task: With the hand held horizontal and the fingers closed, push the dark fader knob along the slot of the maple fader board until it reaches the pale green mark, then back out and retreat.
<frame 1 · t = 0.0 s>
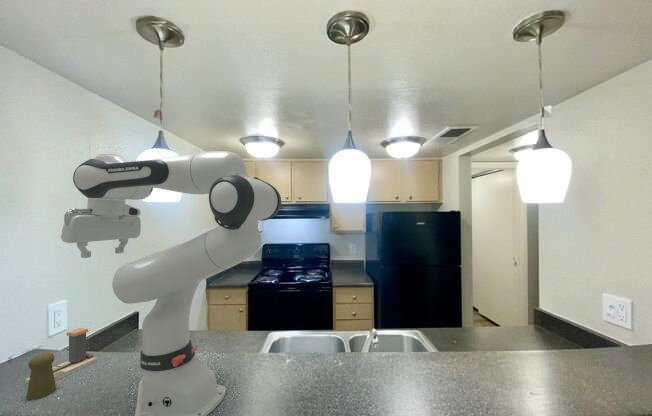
hand: (103, 255, 82), 39 cm above the countertop, tool pointing down, fingers open, 8 cm apart
cork: (41, 394, 79), on the countertop
fader knob: (77, 345, 95), point 7 cm above the countertop, slide at -4.0 cm
fader board: (63, 371, 90), on the countertop
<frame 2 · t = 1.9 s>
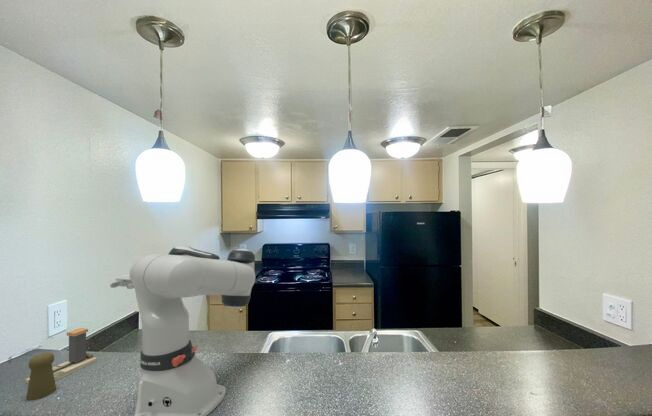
hand: (119, 286, 108), 24 cm above the countertop, tool horizontal, fingers open, 8 cm apart
nothing on the countertop moved.
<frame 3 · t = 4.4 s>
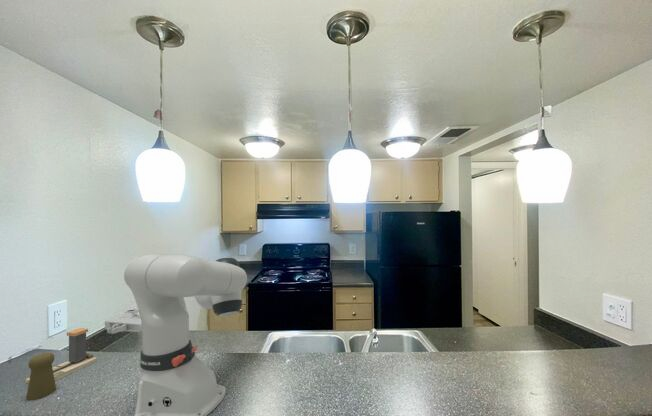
hand: (110, 331, 105), 7 cm above the countertop, tool horizontal, fingers closed
nothing on the countertop moved.
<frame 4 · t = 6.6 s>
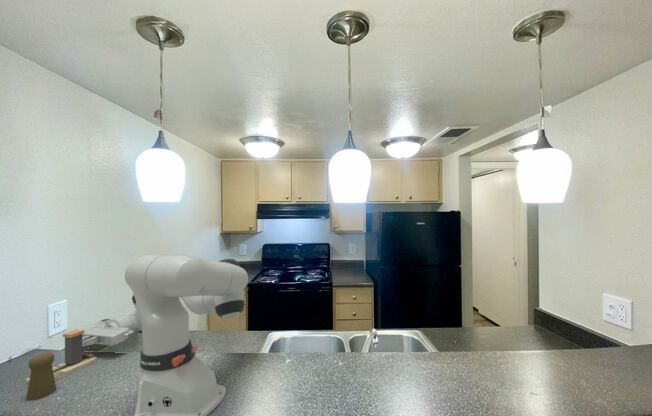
hand: (77, 345, 95), 7 cm above the countertop, tool horizontal, fingers closed, pressing on fader knob
fader knob: (73, 346, 93), point 7 cm above the countertop, slide at -2.8 cm, touching gripper
everything else where it was.
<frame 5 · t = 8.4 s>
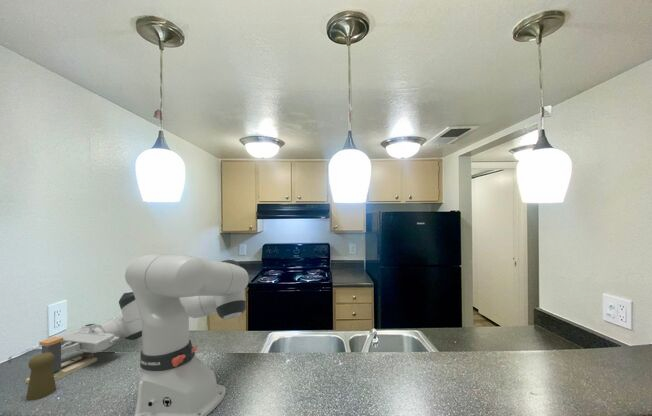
hand: (57, 352, 89), 7 cm above the countertop, tool horizontal, fingers closed, pressing on fader knob
fader knob: (51, 355, 88), point 7 cm above the countertop, slide at 3.3 cm, touching gripper
everything else where it was.
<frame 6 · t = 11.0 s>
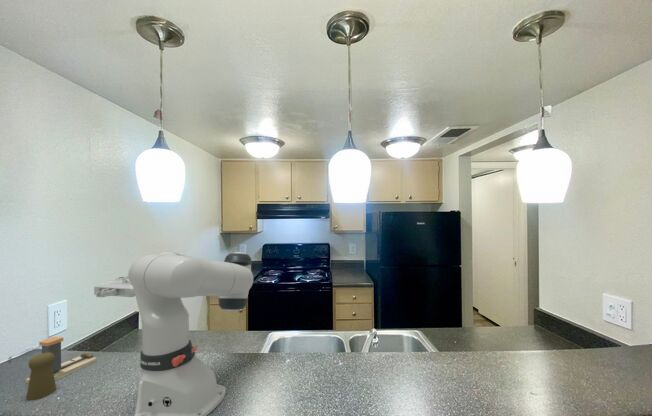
hand: (98, 295, 102), 22 cm above the countertop, tool horizontal, fingers closed
fader knob: (51, 355, 88), point 7 cm above the countertop, slide at 3.3 cm
everything else where it was.
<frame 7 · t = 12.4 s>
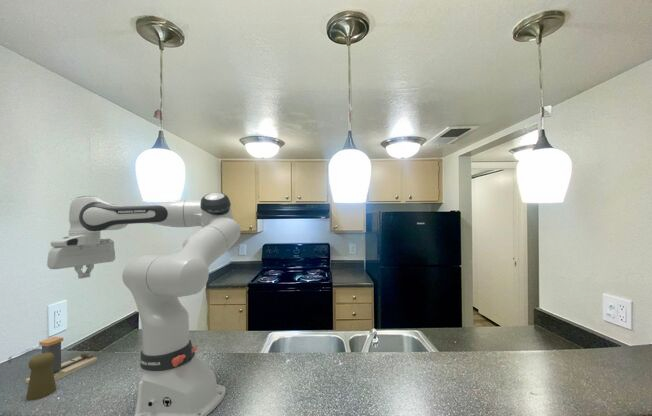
hand: (84, 277, 100), 29 cm above the countertop, tool pointing down, fingers closed
nothing on the countertop moved.
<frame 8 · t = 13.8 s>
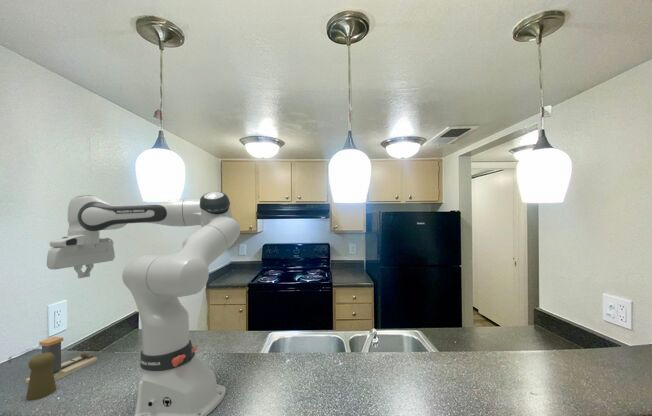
hand: (84, 277, 100), 29 cm above the countertop, tool pointing down, fingers closed
nothing on the countertop moved.
at the end: fader knob slide at 3.3 cm; fader knob touching nothing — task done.
